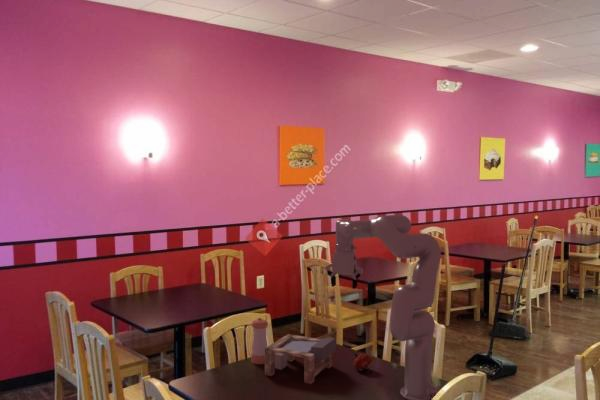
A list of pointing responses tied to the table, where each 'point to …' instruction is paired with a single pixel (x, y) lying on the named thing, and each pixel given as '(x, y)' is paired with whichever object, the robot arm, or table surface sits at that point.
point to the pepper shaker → (259, 341)
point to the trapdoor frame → (309, 367)
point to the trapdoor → (314, 347)
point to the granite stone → (280, 361)
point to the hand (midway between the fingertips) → (344, 287)
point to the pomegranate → (362, 361)
